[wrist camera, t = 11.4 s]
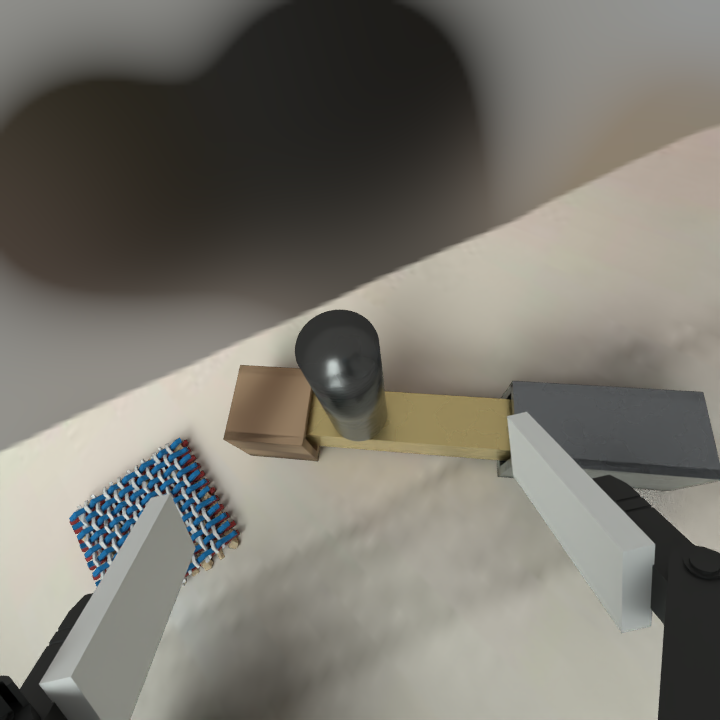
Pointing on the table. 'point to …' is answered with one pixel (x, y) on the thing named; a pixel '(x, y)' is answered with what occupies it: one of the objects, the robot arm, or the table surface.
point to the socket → (271, 413)
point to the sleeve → (624, 432)
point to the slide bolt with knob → (387, 400)
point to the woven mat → (140, 493)
